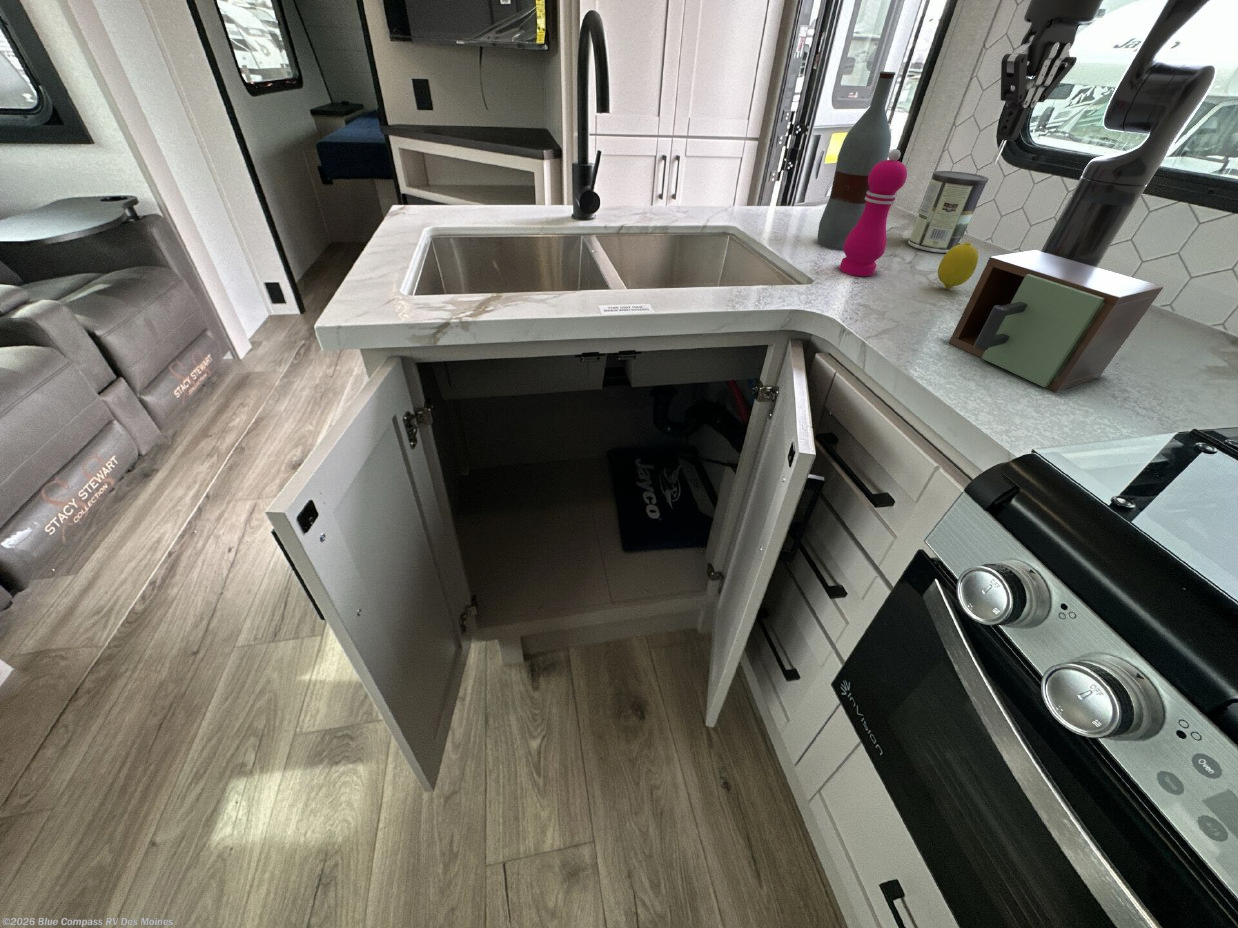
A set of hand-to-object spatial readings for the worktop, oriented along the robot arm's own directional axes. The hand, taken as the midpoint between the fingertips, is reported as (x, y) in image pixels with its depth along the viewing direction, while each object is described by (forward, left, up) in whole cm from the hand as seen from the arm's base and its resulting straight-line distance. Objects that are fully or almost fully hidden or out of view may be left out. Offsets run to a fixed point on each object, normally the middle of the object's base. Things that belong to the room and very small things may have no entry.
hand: (1005, 139), depth 73 cm
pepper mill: (+1, -16, -24) cm, 29 cm away
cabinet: (+8, +20, -23) cm, 32 cm away
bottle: (-9, -31, -24) cm, 40 cm away
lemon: (-8, -3, -24) cm, 25 cm away
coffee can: (-30, -23, -24) cm, 44 cm away
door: (+17, +22, -23) cm, 36 cm away
